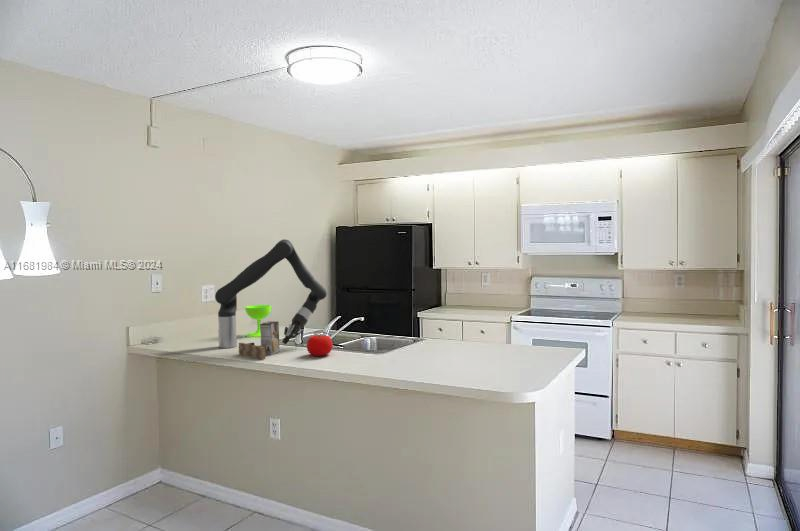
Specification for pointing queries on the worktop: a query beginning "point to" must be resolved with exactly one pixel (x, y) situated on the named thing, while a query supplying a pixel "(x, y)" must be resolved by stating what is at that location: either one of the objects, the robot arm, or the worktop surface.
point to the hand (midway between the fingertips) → (284, 343)
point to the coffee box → (270, 337)
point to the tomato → (319, 345)
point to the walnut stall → (252, 350)
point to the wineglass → (257, 316)
